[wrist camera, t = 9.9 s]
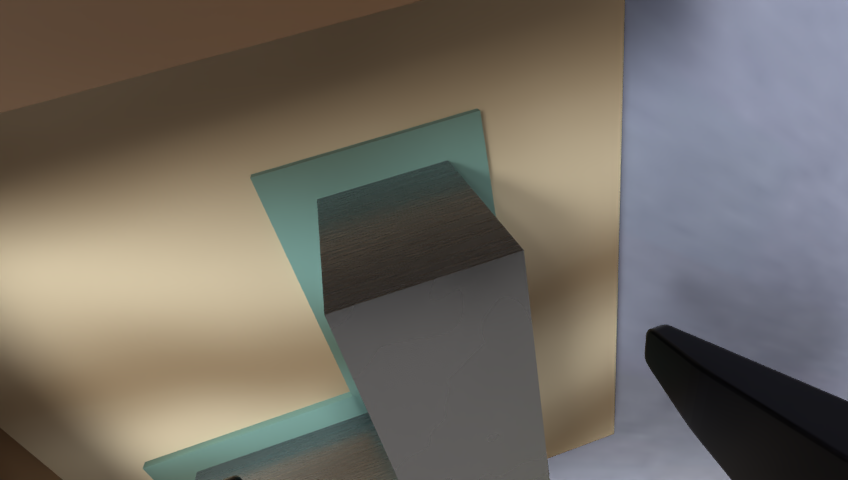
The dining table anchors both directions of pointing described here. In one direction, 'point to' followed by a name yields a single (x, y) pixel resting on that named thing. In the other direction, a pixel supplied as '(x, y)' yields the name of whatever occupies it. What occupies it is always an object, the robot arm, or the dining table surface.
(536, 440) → the angle bracket
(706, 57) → the dining table surface
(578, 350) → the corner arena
